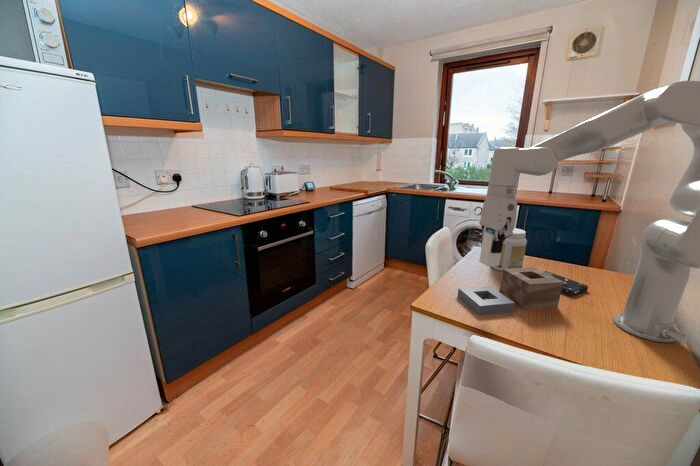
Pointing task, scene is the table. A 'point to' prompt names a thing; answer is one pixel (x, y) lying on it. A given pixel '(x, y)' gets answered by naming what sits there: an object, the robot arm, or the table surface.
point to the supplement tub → (513, 251)
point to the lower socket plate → (492, 303)
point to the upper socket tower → (531, 288)
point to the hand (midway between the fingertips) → (490, 249)
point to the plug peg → (489, 249)
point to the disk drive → (570, 286)
